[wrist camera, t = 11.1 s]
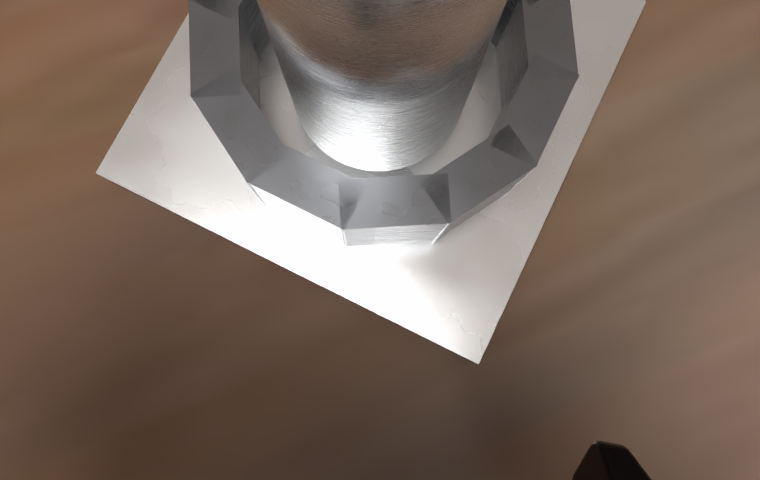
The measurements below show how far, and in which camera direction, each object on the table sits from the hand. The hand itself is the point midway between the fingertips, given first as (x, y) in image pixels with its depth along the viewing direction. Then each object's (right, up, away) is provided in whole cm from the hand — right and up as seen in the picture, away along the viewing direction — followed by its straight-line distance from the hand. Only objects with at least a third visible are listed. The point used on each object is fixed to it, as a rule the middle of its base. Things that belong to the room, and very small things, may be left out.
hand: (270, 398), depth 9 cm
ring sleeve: (+2, +7, +10) cm, 12 cm away
